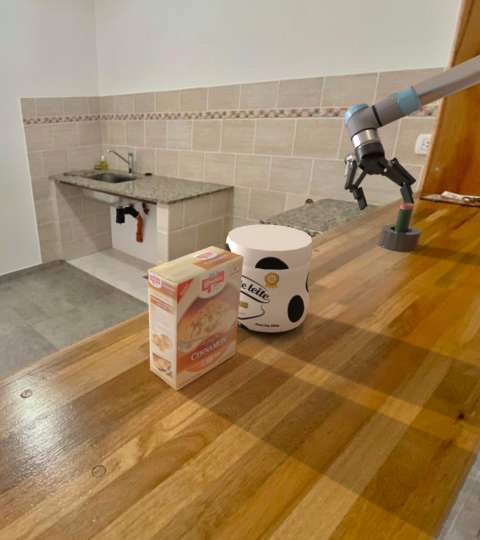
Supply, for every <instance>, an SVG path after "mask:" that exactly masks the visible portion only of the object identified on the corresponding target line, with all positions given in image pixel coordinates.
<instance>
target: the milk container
mask: <svg viewBox="0 0 480 540" xmlns="http://www.w3.org/2000/svg"><path fill="white" fill-rule="evenodd" d="M312 240H313V239H312V236H311V235H309V234H308V233H307V232H305V231H303V230H300V229H297V228H295V227H289V226H285V225H277V224H247V225H243V226H238V227H235V228H233V229H232V230H230V231H229V232H228V234H227V237H226V242H225V249H224V250H226V251H230V252H233V253H236V254H238V255H241V256H243V257H244V258H243V267H242V278H241V290H240V301H239V313H238V324H237V328H240V329H242V330H245V331H249V332H253V333H256V334H270V335H274V334H280V333H287V332H289V331H292V330H295V329H297V328H298V327H299V326H300V325H301V324H302V323H303V322H304V321H305V319H306V316H307V314H308V311H309V308H310V292H309V286H308V282H309V281H308V279H309V273H310V269H311V265H312V260H311V259H312V257H313V256H312V255H313V241H312Z"/></svg>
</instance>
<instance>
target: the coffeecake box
mask: <svg viewBox="0 0 480 540" xmlns="http://www.w3.org/2000/svg"><path fill="white" fill-rule="evenodd" d="M243 258H244V257H243V256H241V255H238V254H236V253H233V252H230V251H226V250H225V249H223V248H220V247H217V246H214V245H211V246H209V247H206V248H203V249H200V250H197V251H195V252H192V253H189V254H187V255H183V256H181V257H178V258H176V259H172V260H170V261H167V262H165V263H161V264H159V265H156V266H154V267H151V268H149V269H147V281H148V282H147V286H148V287H147V288H148V289H147V290H148V292H147V293H148V322H149V323H148V327H149V328H148V330H149V334H148V335H149V370H150V372H152V373H154V374H155V375H156V376H158V378H160V379H161V380H163V381H164V382H165V383H166V384H167V385H168V386H170V387H171V388H172V389H173V390H175V391H177V392H178V391H179V390H181V389H182V388H184V387H187V385H189V384H190V383H192V382H194V381H195V380H197V379H198V378H200V377H201V376H203V375H205V374H206V373H208V372H209V371H211V370H213V369H214V368H216V367H218V366H219V365H220V364H222V363H223V362H225V361H227V360H229V359H230V358H232V357H233V356H235V355H236V347H237V336H238V326H237V324H238V313H239V301H240V290H241V278H242V267H243Z"/></svg>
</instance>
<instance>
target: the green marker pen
mask: <svg viewBox="0 0 480 540" xmlns="http://www.w3.org/2000/svg"><path fill="white" fill-rule="evenodd" d="M414 207H415V203H414V204H412V203H404V202H401V203H400V206H399V209H398V215H397V218H396V222H395V225H396V226H395V230H394V231H397V232H407V231H408V227H409V226H410V223H411V220H412V215H413V212H414V211H413V210H414Z"/></svg>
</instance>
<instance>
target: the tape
mask: <svg viewBox="0 0 480 540" xmlns="http://www.w3.org/2000/svg"><path fill="white" fill-rule="evenodd" d="M395 226H396V224H386V225H383V226H381V230H380V235H379V239H378V246H380V247H381V248H383V249H386V250H390V251H396V252H413V251H415V250H417V248H418V245H419V241H420V237H421V235H422V230H421V229H419V228H417V227H415V226H411V225H409V227H408V231H407V232H397V231H394V230H395Z"/></svg>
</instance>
